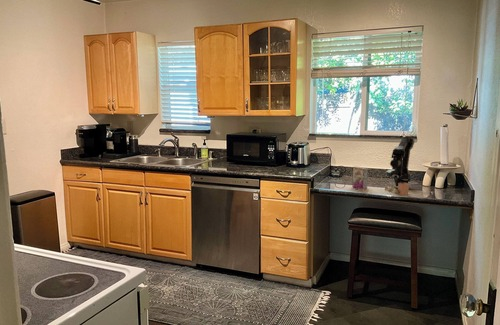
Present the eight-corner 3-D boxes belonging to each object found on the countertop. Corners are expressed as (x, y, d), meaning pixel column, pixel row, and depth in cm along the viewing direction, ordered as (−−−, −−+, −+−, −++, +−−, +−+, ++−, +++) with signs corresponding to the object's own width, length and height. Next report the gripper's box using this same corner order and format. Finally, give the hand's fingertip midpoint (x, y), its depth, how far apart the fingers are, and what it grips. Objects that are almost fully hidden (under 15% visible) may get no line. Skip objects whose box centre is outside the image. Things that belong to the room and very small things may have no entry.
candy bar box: (352, 187, 315) (352, 166, 313) (356, 186, 318) (357, 166, 315) (362, 189, 306) (363, 168, 303) (367, 189, 308) (368, 168, 306)
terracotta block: (397, 193, 289) (398, 182, 288) (403, 193, 291) (404, 182, 289) (402, 195, 285) (402, 184, 283) (408, 194, 286) (408, 183, 285)
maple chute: (384, 190, 303) (385, 185, 302) (394, 190, 305) (394, 185, 304) (397, 195, 287) (397, 190, 287) (407, 194, 289) (407, 189, 289)
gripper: (381, 164, 299) (380, 184, 301) (396, 168, 281) (395, 189, 284) (394, 163, 302) (393, 183, 304) (409, 167, 284) (408, 188, 286)
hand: (397, 186), depth 295 cm, fingers closed
